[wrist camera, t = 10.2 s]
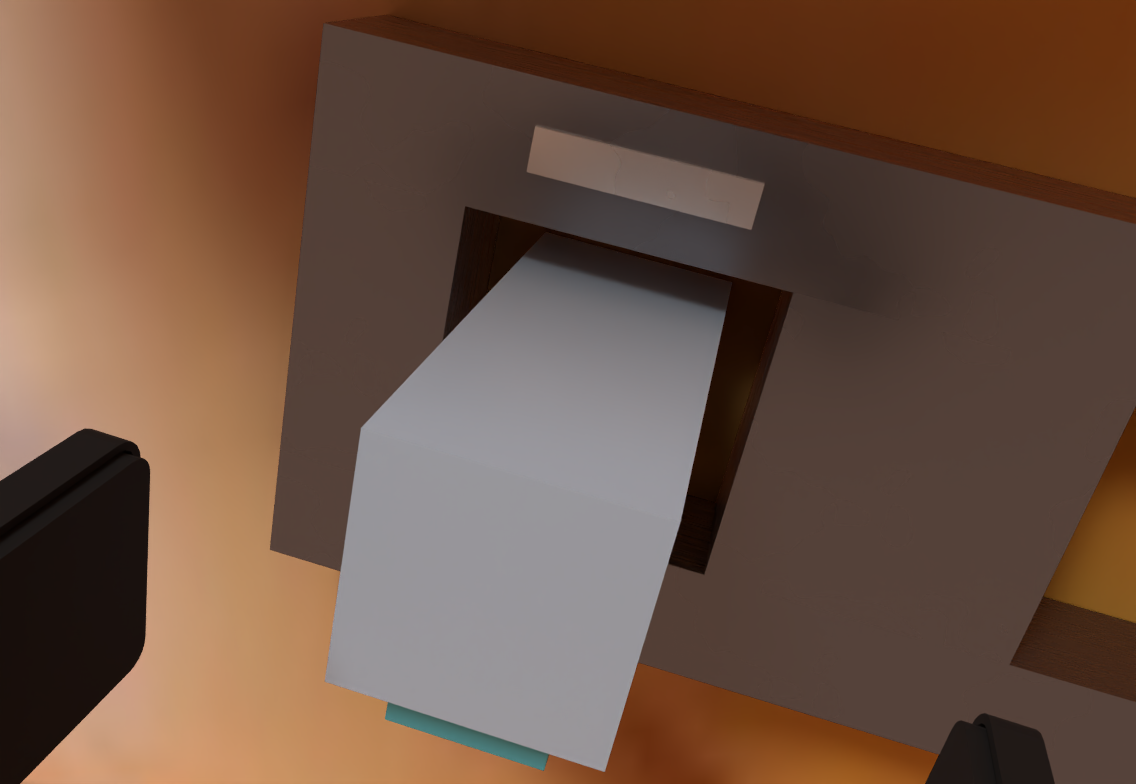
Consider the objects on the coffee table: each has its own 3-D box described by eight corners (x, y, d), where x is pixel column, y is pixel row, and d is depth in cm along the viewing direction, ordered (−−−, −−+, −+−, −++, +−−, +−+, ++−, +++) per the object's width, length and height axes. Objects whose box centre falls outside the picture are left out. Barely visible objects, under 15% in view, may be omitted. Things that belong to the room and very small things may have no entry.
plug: (732, 282, 21) (680, 522, 12) (673, 481, 23) (592, 815, 14) (545, 231, 22) (361, 428, 13) (503, 431, 24) (319, 725, 15)
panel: (1681, 332, 18) (1843, 400, 15) (1353, 791, 23) (1432, 908, 20) (386, 15, 21) (321, 23, 18) (327, 486, 25) (267, 551, 22)
